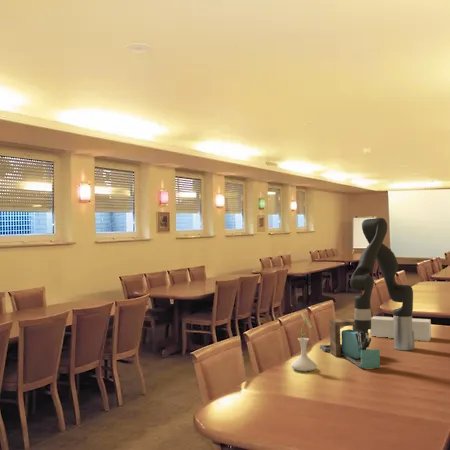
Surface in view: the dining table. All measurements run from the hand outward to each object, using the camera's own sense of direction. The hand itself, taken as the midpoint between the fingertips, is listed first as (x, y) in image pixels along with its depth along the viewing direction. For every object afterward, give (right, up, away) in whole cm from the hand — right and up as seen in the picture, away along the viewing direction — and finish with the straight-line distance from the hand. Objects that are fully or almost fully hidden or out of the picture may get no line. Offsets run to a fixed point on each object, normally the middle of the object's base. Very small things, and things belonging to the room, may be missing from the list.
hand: (363, 355), depth 234 cm
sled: (-1, -4, +7) cm, 8 cm away
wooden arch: (-3, -5, +20) cm, 21 cm away
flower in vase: (-28, -5, -6) cm, 29 cm away
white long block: (+38, -5, +60) cm, 71 cm away
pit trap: (-4, -5, +31) cm, 32 cm away
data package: (-1, -4, +14) cm, 15 cm away
